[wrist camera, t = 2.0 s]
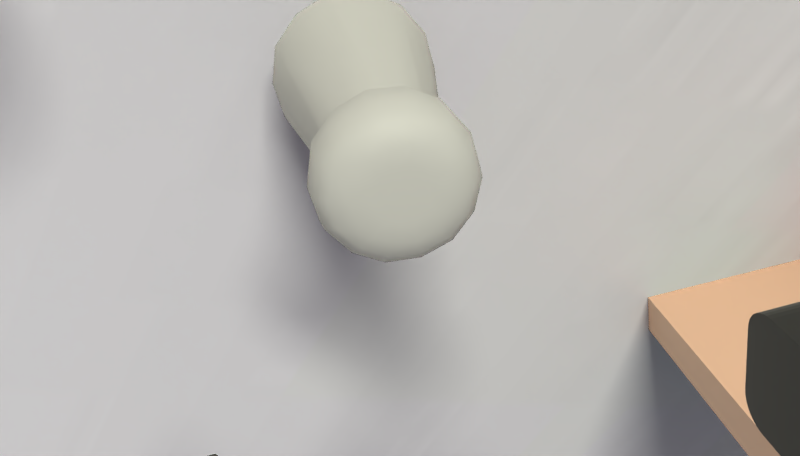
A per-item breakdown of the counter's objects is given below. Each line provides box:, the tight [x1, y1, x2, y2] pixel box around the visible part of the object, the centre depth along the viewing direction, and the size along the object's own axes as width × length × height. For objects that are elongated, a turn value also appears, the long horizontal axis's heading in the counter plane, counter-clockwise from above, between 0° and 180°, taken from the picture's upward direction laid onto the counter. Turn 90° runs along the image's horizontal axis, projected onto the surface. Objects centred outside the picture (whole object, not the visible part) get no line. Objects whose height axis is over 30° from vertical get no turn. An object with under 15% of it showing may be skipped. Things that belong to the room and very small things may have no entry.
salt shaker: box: [273, 0, 482, 262], centre depth 23 cm, size 6×6×13 cm
